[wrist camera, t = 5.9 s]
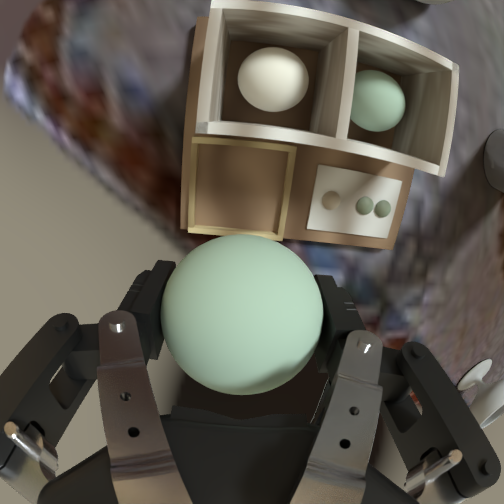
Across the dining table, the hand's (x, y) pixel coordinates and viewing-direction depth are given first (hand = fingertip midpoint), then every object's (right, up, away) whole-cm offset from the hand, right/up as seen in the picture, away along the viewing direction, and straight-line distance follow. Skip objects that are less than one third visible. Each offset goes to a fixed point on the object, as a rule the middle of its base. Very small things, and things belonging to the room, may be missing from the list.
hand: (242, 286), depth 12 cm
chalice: (+59, -31, +38) cm, 77 cm away
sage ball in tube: (+11, +17, +12) cm, 23 cm away
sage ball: (0, 0, +1) cm, 1 cm away
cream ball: (+2, +17, +11) cm, 21 cm away
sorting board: (+6, +14, +15) cm, 21 cm away
